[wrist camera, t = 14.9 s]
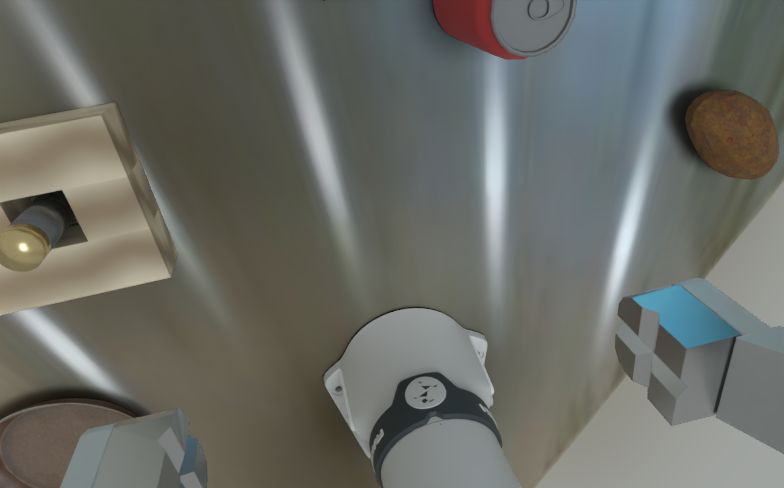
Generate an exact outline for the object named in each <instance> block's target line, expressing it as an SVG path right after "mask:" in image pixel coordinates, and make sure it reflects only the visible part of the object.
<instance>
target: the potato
mask: <svg viewBox="0 0 784 488" xmlns="http://www.w3.org/2000/svg"><path fill="white" fill-rule="evenodd" d="M685 122H686V127H687V131H688V134H689V136H690V139H691V141H692V143H693V145H694V147H695V149H696V150H697V152H698V154H699V155H700V157H701V158H702V160H703V161H704V162H705V163H706V164H707V165H708V166H709V167H710V168H712V169H713V170H715V171H717V172H719V173H721V174H723V175H726V176H728V177H733V178H739V179H749V180H752V179H756V178H760V177H763V176H764V175H765V174H767V173H768V172H769V171H770V170H771V169H772V167H773V166H774V164H775V163H776V161H777V158H778V154H779V144H778V137H777V133H776V129H775V126H774V123H773V120H772V117H771V115H770V113H769V111H768V110H767V109H766V108H765V107H764V106H763V105H762V104H760V103H759V102H758V101H757V100H755V99H753V98H751V97H749V96H747V95H745V94H743V93H741V92H738V91H731V90H716V91H711V92H706V93H703V94H702V95H700V96H698V97H697V98H695V99H694V100H693V102H692V103H691V104H690V106H689V107H688V109H687V113H686V117H685Z"/></svg>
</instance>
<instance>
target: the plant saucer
mask: <svg viewBox="0 0 784 488" xmlns="http://www.w3.org/2000/svg"><path fill="white" fill-rule="evenodd" d="M137 417H138V416H137V415H135V414H133V413H132V412H130V411H128V410H127V409H125V408H122V407H120V406H118V405H115V404H112V403H109V402H105V401H101V400H96V399H88V398H64V399H56V400H50V401H45V402H41V403H37V404H34V405H31V406H28V407H25V408H23V409H20V410H18V411H16V412H14V413H12V414H10V415H8V416H6V417H4V418H3V419H1V420H0V488H60V486H61V484H62V481H63V479H64V476H65V474H66V471H67V469H68V466H69V464H70V461H71V459H72V456H73V454H74V451H75V449H76V446H77V444H78V441H79V439H80V437H81V435H82V434H83V433H84V432H85V431H87V430H88V429H91V428H95V427H100V426H105V425H109V424H114V423H118V422H119V421H124V420H128V419H133V418H137Z"/></svg>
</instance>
